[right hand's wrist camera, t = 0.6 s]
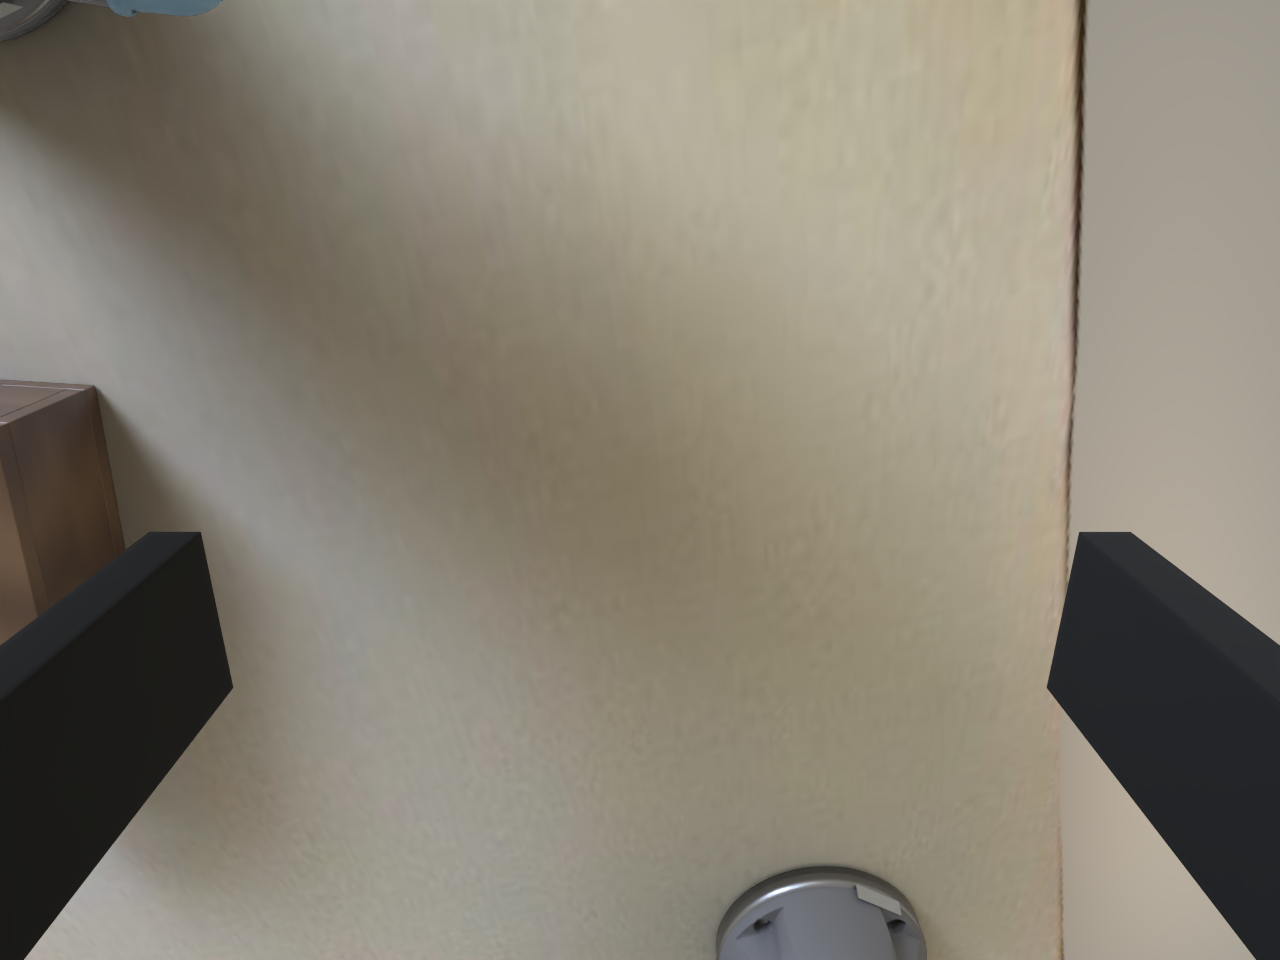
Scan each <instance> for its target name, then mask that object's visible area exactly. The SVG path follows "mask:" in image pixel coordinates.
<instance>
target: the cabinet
mask: <svg viewBox="0 0 1280 960" xmlns="http://www.w3.org/2000/svg"><path fill="white" fill-rule="evenodd" d="M124 551H125V548H124V543H123V537H122V532H121V526H120V521H119V515H118V510H117V504H116V499H115V493H114V488H113V482H112V477H111V472H110V466H109V461H108V455H107V450H106V444H105V439H104V433H103V428H102V422H101V417H100V411H99V406H98V400H97V395H96V389H95V386H93V385H77V384H61V383H45V382H29V381H13V380H0V645H1V644H3V643H4V642H5V641H7V640H8V639H9V638H11V637H12V636H13V635H15V634H16V633H17V632H19V631H20V630H21V629H23V628H24V627H25V626H26V625H28V624H29V623H30V622H32V621H33V620H34V619H36V618H37V617H38V616H40V615H41V614H42V613H44V612H45V611H46V610H48V609H49V608H50V607H51V606H53V605H54V604H55V603H57V602H58V601H59V600H61V599H62V598H63V597H65V596H66V595H67V594H69V593H70V592H71V591H73V590H74V589H75V588H76V587H78V586H79V585H80V584H82V583H83V582H84V581H86V580H87V579H88V578H90V577H91V576H92V575H94V574H95V573H96V572H98V571H99V570H100V569H101V568H103V567H104V566H105V565H107V564H108V563H109V562H111V561H112V560H113V559H115V558H116V557H117V556H119V555H120V554H121V553H123V552H124Z"/></svg>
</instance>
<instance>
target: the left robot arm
mask: <svg viewBox="0 0 1280 960" xmlns="http://www.w3.org/2000/svg"><path fill="white" fill-rule="evenodd" d="M67 1H74V2H79V3H85V4H91V5H97V6H102V7H108V8H110V9H111V10H112V11H113V12H114V13H115V14H118V15H121V16H125V17H131V16H135V15H136V13H137V12H146V13H157V14H167V15H176V16H194V15H199V14H202V13H205V12H207V11H209V10H211V9H213V8H214V7H216V6H217V5H218V4H219V3H220V2H222V1H223V0H0V41H4V40H7V39H11V38H15V37H18V36H20V35H23V34H25V33H27V32H30V31H31V30H33V29H35V28H37V27H39V26H40V25H42V24H43V23H45V22H46V21H47V20H49V19H50V18H51V17H53V16H54V15H55V14H56V13H57V12H58V11H59V10H60V9H61V8H62V7H63V6H64V5H65V4H66V2H67Z"/></svg>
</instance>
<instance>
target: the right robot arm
mask: <svg viewBox="0 0 1280 960" xmlns="http://www.w3.org/2000/svg"><path fill="white" fill-rule="evenodd" d="M232 689H233V684H232V680H231V675H230V670H229V665H228V660H227V656H226V651H225V646H224V641H223V637H222V632H221V627H220V622H219V617H218V613H217V608H216V603H215V598H214V593H213V589H212V584H211V579H210V574H209V569H208V565H207V560H206V555H205V550H204V546H203V541H202V536H201V532H149V533H148V534H146V535H145V536H144V537H142V538H141V539H140V540H138V541H137V542H136V543H134V544H133V545H132V546H130V547H129V548H128V549H126V550H125V551H124V552H123V553H121V554H120V555H119V556H117V557H116V558H115V559H113V560H112V561H111V562H109V563H108V564H107V565H105V566H104V567H103V568H101V569H100V570H99V571H98V572H96V573H95V574H94V575H92V576H91V577H90V578H88V579H87V580H86V581H84V582H83V583H82V584H80V585H79V586H78V587H76V588H75V589H74V590H73V591H71V592H70V593H69V594H67V595H66V596H65V597H63V598H62V599H61V600H59V601H58V602H57V603H55V604H54V605H53V606H51V607H50V608H49V609H48V610H46V611H45V612H44V613H42V614H41V615H40V616H38V617H37V618H36V619H34V620H33V621H32V622H30V623H29V624H28V625H26V626H25V627H24V628H23V629H21V630H20V631H19V632H17V633H16V634H15V635H13V636H12V637H11V638H9V639H8V640H7V641H5V642H4V643H3V644H1V645H0V960H24V959H25V957H26V956H27V955H28V954H29V952H30V951H31V950H32V948H33V947H34V946H35V944H36V943H37V942H38V941H39V939H40V938H41V937H42V935H43V934H44V933H45V931H46V930H47V929H48V928H49V926H50V925H51V924H52V922H53V921H54V920H55V919H56V917H57V916H58V915H59V913H60V912H61V911H62V909H63V908H64V907H65V906H66V904H67V903H68V902H69V900H70V899H71V898H72V896H73V895H74V894H75V893H76V891H77V890H78V889H79V887H80V886H81V885H82V883H83V882H84V881H85V880H86V878H87V877H88V876H89V874H90V873H91V872H92V870H93V869H94V868H95V867H96V865H97V864H98V863H99V861H100V860H101V859H102V857H103V856H104V855H105V854H106V852H107V851H108V850H109V848H110V847H111V846H112V844H113V843H114V842H115V841H116V839H117V838H118V837H119V835H120V834H121V833H122V831H123V830H124V829H125V828H126V826H127V825H128V824H129V822H130V821H131V820H132V818H133V817H134V816H135V815H136V813H137V812H138V811H139V809H140V808H141V807H142V805H143V804H144V803H145V802H146V800H147V799H148V798H149V796H150V795H151V794H152V792H153V791H154V790H155V789H156V787H157V786H158V785H159V783H160V782H161V781H162V779H163V778H164V777H165V776H166V774H167V773H168V772H169V770H170V769H171V768H172V766H173V765H174V764H175V763H176V761H177V760H178V759H179V757H180V756H181V755H182V754H183V752H184V751H185V750H186V748H187V747H188V746H189V744H190V743H191V742H192V741H193V739H194V738H195V737H196V735H197V734H198V733H199V731H200V730H201V729H202V728H203V726H204V725H205V724H206V722H207V721H208V720H209V718H210V717H211V716H212V715H213V713H214V712H215V711H216V709H217V708H218V707H219V705H220V704H221V703H222V702H223V700H224V699H225V698H226V696H227V695H228V694H229V692H230V691H231V690H232ZM1047 689H1048V690H1049V691H1050V692H1051V694H1052V695H1053V696H1054V698H1055V699H1056V700H1057V702H1058V703H1059V704H1060V705H1061V707H1062V708H1063V709H1064V711H1065V712H1066V713H1067V715H1068V716H1069V717H1070V718H1071V720H1072V721H1073V722H1074V724H1075V725H1076V726H1077V728H1078V729H1079V730H1080V731H1081V733H1082V734H1083V735H1084V737H1085V738H1086V739H1087V740H1088V742H1089V743H1090V744H1091V746H1092V747H1093V748H1094V750H1095V751H1096V752H1097V753H1098V755H1099V756H1100V757H1101V759H1102V760H1103V761H1104V763H1105V764H1106V765H1107V766H1108V768H1109V769H1110V770H1111V772H1112V773H1113V774H1114V776H1115V777H1116V778H1117V779H1118V781H1119V782H1120V783H1121V785H1122V786H1123V787H1124V789H1125V790H1126V791H1127V792H1128V794H1129V795H1130V796H1131V798H1132V799H1133V800H1134V802H1135V803H1136V804H1137V805H1138V807H1139V808H1140V809H1141V811H1142V812H1143V813H1144V815H1145V816H1146V817H1147V818H1148V820H1149V821H1150V822H1151V824H1152V825H1153V826H1154V828H1155V829H1156V830H1157V831H1158V833H1159V834H1160V835H1161V837H1162V838H1163V839H1164V841H1165V842H1166V843H1167V844H1168V846H1169V847H1170V848H1171V850H1172V851H1173V852H1174V854H1175V855H1176V856H1177V857H1178V859H1179V860H1180V861H1181V863H1182V864H1183V865H1184V867H1185V868H1186V869H1187V870H1188V872H1189V873H1190V874H1191V876H1192V877H1193V878H1194V880H1195V881H1196V882H1197V883H1198V885H1199V886H1200V887H1201V889H1202V890H1203V891H1204V892H1205V894H1206V895H1207V896H1208V898H1209V899H1210V900H1211V902H1212V903H1213V904H1214V906H1215V907H1216V908H1217V909H1218V911H1219V912H1220V913H1221V914H1222V916H1223V917H1224V919H1225V920H1226V921H1227V922H1228V924H1229V925H1230V926H1231V928H1232V929H1233V930H1234V931H1235V933H1236V934H1237V935H1238V937H1239V938H1240V939H1241V941H1242V942H1243V943H1244V944H1245V946H1246V947H1247V948H1248V950H1249V951H1250V952H1251V954H1252V955H1253V956H1254V957H1255V959H1256V960H1280V645H1278V644H1277V643H1276V642H1274V641H1273V640H1272V639H1271V638H1269V637H1268V636H1267V635H1265V634H1264V633H1263V632H1261V631H1260V630H1259V629H1257V628H1256V627H1255V626H1254V625H1252V624H1251V623H1250V622H1248V621H1247V620H1246V619H1244V618H1243V617H1242V616H1240V615H1239V614H1238V613H1236V612H1235V611H1234V610H1232V609H1231V608H1230V607H1229V606H1227V605H1226V604H1225V603H1223V602H1222V601H1221V600H1219V599H1218V598H1217V597H1215V596H1214V595H1213V594H1211V593H1210V592H1209V591H1207V590H1206V589H1205V588H1203V587H1202V586H1201V585H1200V584H1198V583H1197V582H1196V581H1194V580H1193V579H1192V578H1190V577H1189V576H1188V575H1186V574H1185V573H1184V572H1182V571H1181V570H1180V569H1179V568H1177V567H1176V566H1175V565H1173V564H1172V563H1171V562H1169V561H1168V560H1167V559H1165V558H1164V557H1163V556H1161V555H1160V554H1159V553H1157V552H1156V551H1155V550H1153V549H1152V548H1151V547H1150V546H1148V545H1147V544H1146V543H1144V542H1143V541H1142V540H1140V539H1139V538H1138V537H1136V536H1135V535H1134V534H1132V533H1131V532H1079V536H1078V541H1077V546H1076V550H1075V555H1074V560H1073V565H1072V569H1071V574H1070V579H1069V584H1068V589H1067V593H1066V598H1065V603H1064V608H1063V613H1062V617H1061V622H1060V627H1059V632H1058V636H1057V641H1056V646H1055V651H1054V656H1053V660H1052V665H1051V670H1050V675H1049V680H1048V684H1047ZM716 956H717V960H927V949H926V943H925V940H924V936H923V934H922V931H921V928H920V925H919V922H918V920H917V917H916V914H915V912H914V910H913V908H912V906H911V905H910V903H909V902H908V901H907V899H906V898H905V897H904V896H903V895H902V894H901V893H900V892H899V891H898V890H897V889H896V888H894V887H893V886H892V885H890V884H889V883H887V882H885V881H884V880H882V879H880V878H878V877H876V876H873V875H871V874H868V873H865V872H862V871H858V870H854V869H849V868H842V867H827V866H824V867H809V868H802V869H797V870H792V871H788V872H785V873H782V874H779V875H776V876H773V877H771V878H769V879H767V880H765V881H763V882H761V883H759V884H757V885H755V886H754V887H752V888H751V889H749V890H748V891H747V892H745V893H744V894H743V895H742V896H741V897H740V898H738V899H737V900H736V901H735V902H734V904H733V905H732V906H731V907H730V908H729V910H728V911H727V913H726V914H725V916H724V918H723V919H722V921H721V924H720V926H719V929H718V933H717V937H716Z"/></svg>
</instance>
